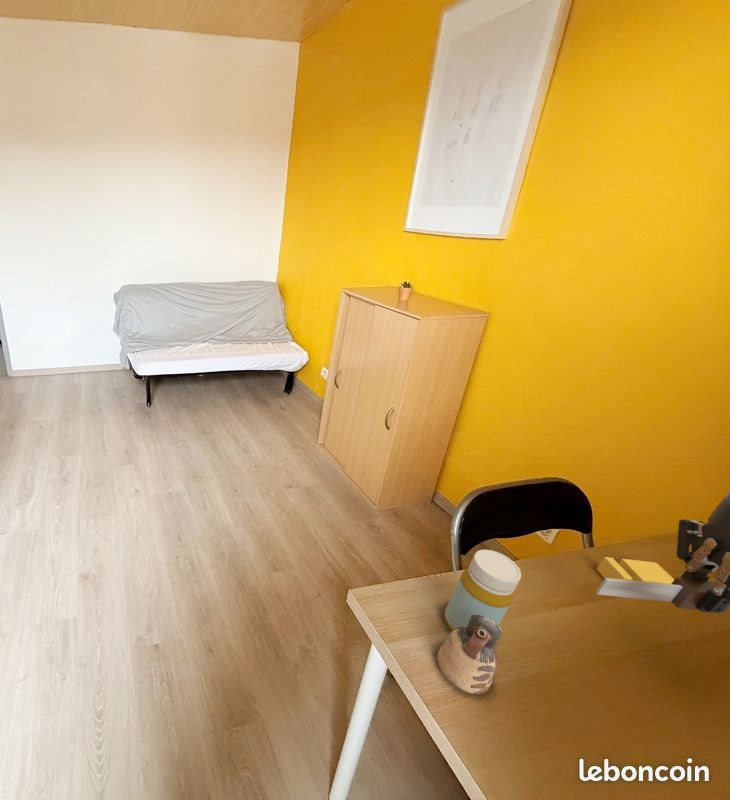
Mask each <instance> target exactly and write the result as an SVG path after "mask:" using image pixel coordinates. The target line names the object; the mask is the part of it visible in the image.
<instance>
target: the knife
mask: <svg viewBox="0 0 730 800" xmlns="http://www.w3.org/2000/svg"><path fill="white" fill-rule="evenodd" d="M715 581H716V580H708V581H707V580H696V579H686V578H680V577H675V579H674V581H673V582H672V584H663V583H653V582H643V581H632V580H622V579H612V578H603V581H602V582H601V583H600V585H599V587H598V588H597V589H596V591H595V594H596V595H597V596H607V597H619V598H629V599H637V600H646V601H647V600H648V601H658V602H669V603H672V605H674V606H675V607H676V608H677V609H682V610H683V609H684V610H691V611H692V610H693V611H694V610H695V611H700V610H699V609H698V608H697V607H696V605H697V604H698V603H699V601H700V600H701V599H702V598H703V597H704V596H705V594H706V592H707V591H708V590H711V588H712V586H713V585H714V583H715ZM729 608H730V604H729V605H728V606H727V607H726V608H725V609H724V611H723V612H721V613H725V612H726V611H727V610H728V609H729Z"/></svg>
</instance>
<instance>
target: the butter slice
mask: <svg viewBox="0 0 730 800" xmlns="http://www.w3.org/2000/svg"><path fill="white" fill-rule="evenodd" d="M596 570H597V572H598V573H599V574H600V575H601V576H602V577H603V579H605V578H612V579H622V580H633V578H632V577H631V576H630V575H629V574H628V573H627V572H626V571H625V570H624V569H623V568H622V567H621V566H620V565H619V562H617V561H616V559H614V557H610V556H604V557H603V558H602V559H601V561H600V562H599V565H598V566H597V567H596Z"/></svg>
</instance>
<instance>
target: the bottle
mask: <svg viewBox="0 0 730 800" xmlns="http://www.w3.org/2000/svg"><path fill="white" fill-rule="evenodd" d="M521 579H522V572H521V569H520V568H519V566H518V565H517V563H515V562H514V561H513V560H512V559H511V558H509V557H508V556H506V555H505V554H503V553H501V552H498V551H495V550H491V549H480V550H477V551H476V552H475V553H474V555H473V556H472V559H471V561H470V564H469V566H468V567H467V568H465V569H464V570H463V571H462V573H461V575H460V577H459V579H458V582H457V583H456V586H455V588H454V590H453V592H452V595H451V597H450V599H449V601H448V603H447V606H446V608H445V610H444V613H443V614H444V617H443V618H444V621H445V623H446V625H447V627H448V628H449V629H450V630H451V632H452V631H453V630H454V629H455V628H458V627H466V628H467V626H468V622H469V620H470V619H471V615H472V614H475V615H481V616H484V617H487V618H489V619H491V620H492V621H493V622H494V623H495V624H496V625H497V626H498V627H499V625H500V623H501V622H502V620H503V618H504V616H505V615H506V613H507V611H508V610H509V608H510V606H511V604H512V602H513V600H514V591H515V590H516V588H517V586H518V584H519V582H520V581H521Z"/></svg>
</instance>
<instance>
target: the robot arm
mask: <svg viewBox="0 0 730 800" xmlns="http://www.w3.org/2000/svg"><path fill="white" fill-rule="evenodd" d="M677 530H678V531H677V545H676V557H677V558H678V559H679V560H682V561H683V562H684V564H685V566H684V569H685V571H684V572H683V573H682V575H681V576H680V577H679V578H686V579H696V580H707V581H710V579H711V576H709V575H711V574H713V573H714V572H715V571H716V572H715V574H714V577H715V578H716V579H715V580H714V581H715V583H714V585H713V586H712V588H711V590H708V591H707V592H706V594H705V596H704V597H703V598H702V599H701V600H700V601H699V603H698V604H697V605H696V607H697V608H698V609H699V610H698V611H699V612H701V613H709V614H710V613H712V614H721V613H722V612H723V611H724V609H725V608H726V607H727V606H728V605H729V604H730V489H729V490H728V491H727V493H726V494H725V495H724V496H723V498H722V499H721V501H720V502H719V503H718V504H717V505H716V507H715V508H714V510H713V511H712V513H710V515H709V517H708V518H707V522H704V521H702V520H695V519H679V521H678V529H677ZM690 546H691V550H690Z"/></svg>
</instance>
